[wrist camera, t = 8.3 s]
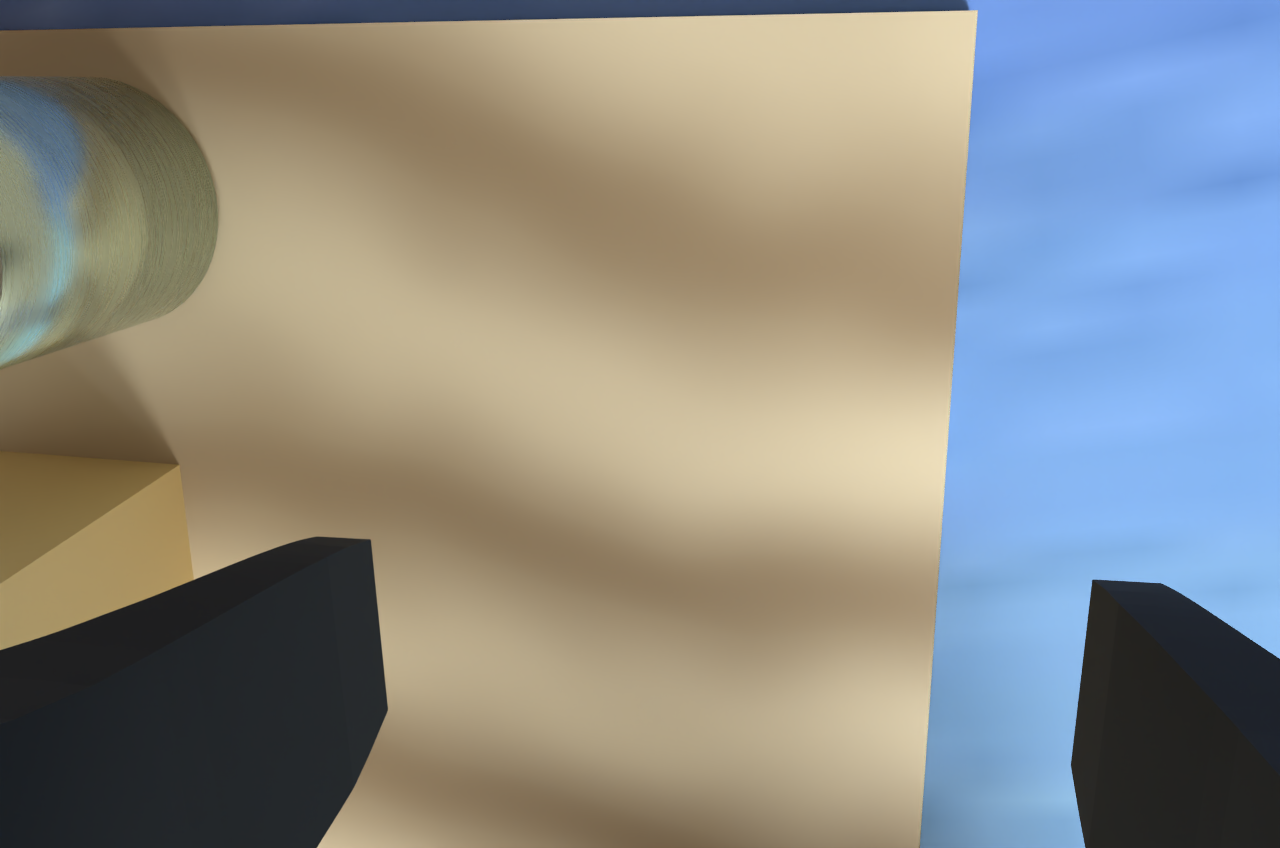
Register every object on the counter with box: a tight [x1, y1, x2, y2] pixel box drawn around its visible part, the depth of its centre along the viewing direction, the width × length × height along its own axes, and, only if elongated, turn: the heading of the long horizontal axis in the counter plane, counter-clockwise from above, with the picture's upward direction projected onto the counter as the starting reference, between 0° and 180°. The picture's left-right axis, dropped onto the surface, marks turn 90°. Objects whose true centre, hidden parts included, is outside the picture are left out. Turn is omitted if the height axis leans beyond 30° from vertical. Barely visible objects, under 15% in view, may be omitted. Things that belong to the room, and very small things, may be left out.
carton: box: [0, 451, 194, 650], centre depth 21 cm, size 6×4×6 cm
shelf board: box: [0, 10, 978, 848], centre depth 22 cm, size 18×22×4 cm
